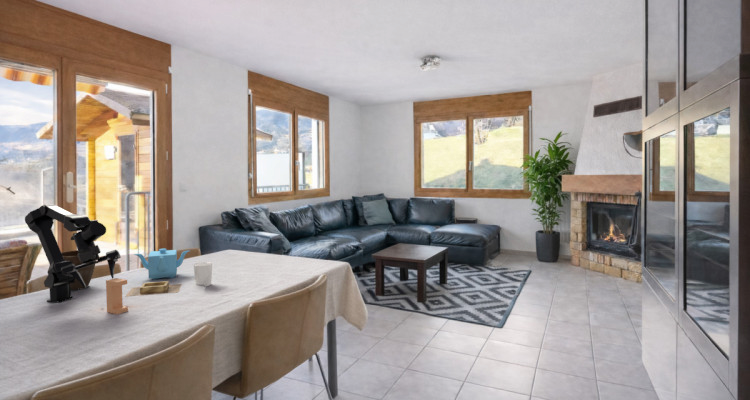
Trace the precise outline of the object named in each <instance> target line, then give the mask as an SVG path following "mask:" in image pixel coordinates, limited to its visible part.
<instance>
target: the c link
mask: <svg viewBox="0 0 750 400" xmlns="http://www.w3.org/2000/svg"><path fill="white" fill-rule="evenodd" d="M127 284H128V279H125V278H118V277H116V278H113V279H112V278H111V279H107V280H105V289H106V290H105V291H106V292H105V293H106V294H105V295H106V312H107V313H111V314H114V315H121V314H123V313H125V312H128V311H129V307H128V306H125V305H124V303H123V286H125V285H127Z"/></svg>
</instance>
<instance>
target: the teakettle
mask: <svg viewBox="0 0 750 400" xmlns="http://www.w3.org/2000/svg"><path fill="white" fill-rule="evenodd" d="M177 252H178V250H177V249H167V248H159V249H158V250H153V251H150V252H149V253H148V257H147V260H146V259H145V258H146V257H145V256H144V255H143V254H141V253H134V254H133V256H137V257H138V258H139V260H140V261H141V263H142V264H141V265H143V267H144V269H146V270H148V280H150V279H151V280H160V279H163V278H167V279H175V278H176V277H177V276H178V275H177V273H178V268H179V267H180V266H181V265H182V264H183V263H184V259H185V256H186V254H187V253H189V252H190V250H184V251H182V252H181V255H180V257H179V258H178V254H177Z"/></svg>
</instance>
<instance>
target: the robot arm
mask: <svg viewBox="0 0 750 400" xmlns="http://www.w3.org/2000/svg"><path fill="white" fill-rule="evenodd" d="M54 220H55V221H58V222H59V223H61V224H63V228H64V229H65V230H67V232H70V233H71V232H73V233H72V236H70V241H74V243H75V246H76V250H78V252H79V253H78V257H79V259H80V262H82V263H81V264H78V265H74V264H72V262H71V261H66V260H64V258H63V255H62V251H61V248H60V246H59V244H58V241H57V238H56V237H55V235H54V234H55V233H54V232H53V229H52V228H53V225H54ZM24 221H25V224H27V226H28V229H29V230H30V231H32V232H33V233H35V234H36V235H37V237H38V239H39V242H40V244H41V247H42V249H43V252H44V253H45V256H46V258H47V261H48V264H49V267H48V270H47V276H46V278H44V281H43V284H44V288H49V299H46V302H50V303H62V302H65V301H68V300H72V299H74V297H75V296H73V295H72V292H71V291H72V290H71V287H70V284H71V283H74V282H75V278H76V279H77V280H78V281H79V282H80V284H81V285H82V286H83V287H84V288H83V289H87V287H86V285H85V283H84V281H83V279H82V277H81V275H80V273H79V272H77V271H78V270H79V269H82V268H84V267H87V266H90V265H93V264H95V265H96V264H99V263H102V262H105V261H107V264H108V269H109V274H110V277H111V279H115V278H114V276H115V266H116V262H118V261H119V259H121V258H122V257H121V253H120V252H119V251H118V249H113V250H109V251H107V252H105V255H102V256H100V254H101V249H100V247H99V245H98V244H95V242H96V241H97V240H98V239H100V238H101V237H103V236H104V235H105V234H106V233H107V227H106V226H105V225H104V224H103V223H101V222H99V221H98V219H92V220H91V219H90V218H89V216H87V215H85V214H75V213H72V212H70V211H68V210H66V209H64V208H63V207H60V206H58V205H57V204H53V203H52V204H42V205H41V206H39V207H38V208H36V209H33V210H32V211H31V210H30V211H29V212H28V213H27V215H25V217H24ZM94 261H95V262H94ZM86 264H87V265H86Z"/></svg>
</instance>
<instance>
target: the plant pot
mask: <svg viewBox="0 0 750 400" xmlns="http://www.w3.org/2000/svg"><path fill="white" fill-rule="evenodd" d="M61 253H62V255H63V258H64V260H66V261H71V262H72V264H74V265H78V264H81V263H82V262H80V259H79V257H78V253H79V252H78V249H76V250H70V251H69V250H68V251H63V252H62V251H61ZM94 262H95V261H94ZM86 265H87V264H86ZM95 267H96V264H93V265H90V266H87V267H84V268H82V269H79V270H78V271H77V272H79V273H80V275H81V277H82V279H83V281H84V283H85V285H86V288H88V287H89V285H90V282H91V281H92V277H93V275H94V271H95ZM70 287H71V291H72V290H73V291H74V290H76V291H77V289H78V290H83V289H85V288H84V287H83V286H82V285H81V284H80V282H79V281H78V280H77V279H76V278H75V282H74V283H71V284H70Z"/></svg>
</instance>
